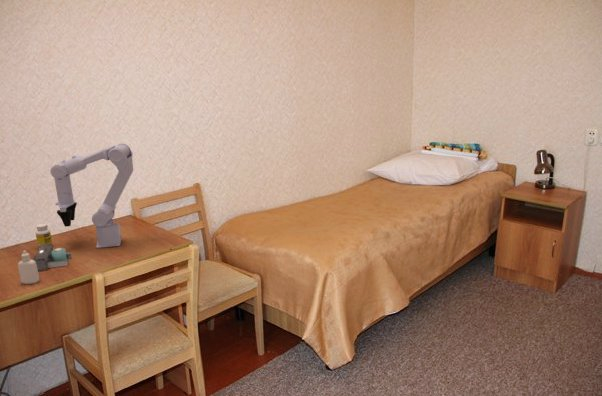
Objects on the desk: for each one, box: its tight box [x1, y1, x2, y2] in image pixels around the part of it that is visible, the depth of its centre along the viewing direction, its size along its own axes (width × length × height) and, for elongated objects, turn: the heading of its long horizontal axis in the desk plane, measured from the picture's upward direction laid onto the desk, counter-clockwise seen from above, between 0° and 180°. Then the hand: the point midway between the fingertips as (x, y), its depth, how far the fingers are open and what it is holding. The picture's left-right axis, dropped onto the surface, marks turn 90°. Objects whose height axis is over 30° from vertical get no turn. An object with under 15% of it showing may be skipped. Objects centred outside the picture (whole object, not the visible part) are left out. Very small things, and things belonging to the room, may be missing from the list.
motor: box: [32, 244, 73, 272], centre depth 180 cm, size 11×12×6 cm
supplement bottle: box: [35, 223, 53, 250], centre depth 195 cm, size 5×5×10 cm
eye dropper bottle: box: [17, 250, 40, 285], centre depth 164 cm, size 4×6×12 cm
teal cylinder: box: [52, 247, 68, 262], centre depth 181 cm, size 5×5×6 cm
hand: (69, 223), depth 196 cm, fingers open, 7 cm apart
